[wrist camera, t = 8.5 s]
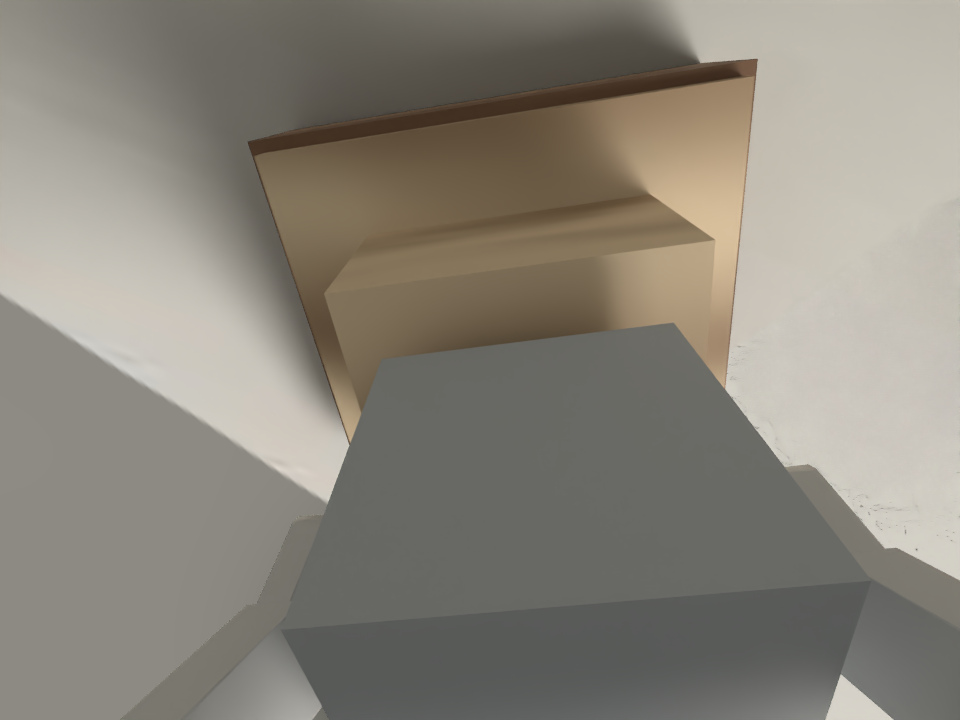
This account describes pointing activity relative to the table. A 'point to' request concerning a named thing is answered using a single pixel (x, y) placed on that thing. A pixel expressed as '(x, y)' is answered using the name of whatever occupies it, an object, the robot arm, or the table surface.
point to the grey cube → (569, 547)
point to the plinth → (514, 176)
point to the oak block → (521, 282)
